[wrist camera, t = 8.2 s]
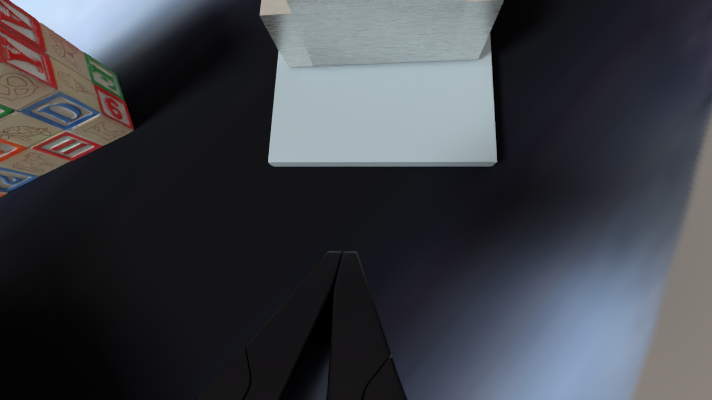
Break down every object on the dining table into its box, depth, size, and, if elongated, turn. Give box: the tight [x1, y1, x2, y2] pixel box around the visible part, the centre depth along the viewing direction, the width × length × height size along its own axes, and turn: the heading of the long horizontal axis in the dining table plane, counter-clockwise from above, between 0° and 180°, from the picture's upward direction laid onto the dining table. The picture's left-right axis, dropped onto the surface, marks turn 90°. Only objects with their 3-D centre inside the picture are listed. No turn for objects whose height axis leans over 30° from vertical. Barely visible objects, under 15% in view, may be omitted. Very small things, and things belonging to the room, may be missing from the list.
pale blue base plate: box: [268, 33, 497, 166], centre depth 21 cm, size 19×22×5 cm
